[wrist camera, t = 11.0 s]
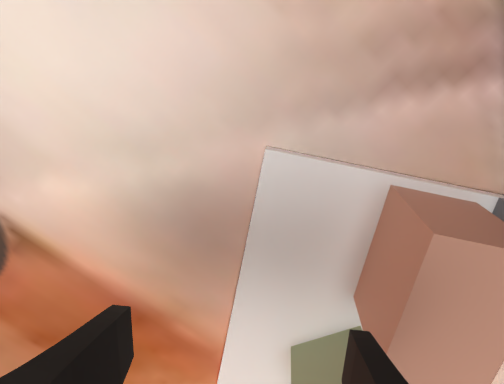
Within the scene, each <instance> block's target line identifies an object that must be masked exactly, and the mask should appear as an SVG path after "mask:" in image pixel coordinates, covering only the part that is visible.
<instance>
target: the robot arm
mask: <svg viewBox="0 0 504 384" xmlns="http://www.w3.org/2000/svg"><path fill="white" fill-rule="evenodd" d="M133 357H134V352H133V338H132V323H131V308H130V307H129V306H119V305H112V306H110V307H109V308H107V309H106V310H104V311H103V312H101V313H100V314H99V315H97V316H96V317H94V318H93V319H91V320H90V321H89V322H87V323H86V324H84V325H83V326H82V327H80V328H79V329H77V330H76V331H74V332H73V333H71V334H70V335H69V336H67V337H66V338H64V339H63V340H61V341H60V342H58V343H57V344H55V345H54V346H52V347H51V348H49V349H47V350H46V351H44V352H43V353H41V354H40V355H38V356H36V357H35V358H33V359H32V360H30V361H28V362H27V363H25V364H24V365H22V366H20V367H18V368H17V369H15V370H13V371H11V372H10V373H8V374H6V375H4V376H2V377H1V378H0V384H123V382H124V380H125V377H126V375H127V372H128V370H129V367H130V365H131V362H132V359H133ZM341 380H342V384H409V383H408V382H407V381H406V379H405V378H404V377H403V376H402V374H401V373H400V372H399V371H398V369H397V368H396V367H395V365H394V364H393V363H392V361H391V360H390V359H389V357H388V356H387V355H386V353H385V352H384V351H383V349H382V348H381V346H380V345H379V344H378V342H377V341H376V339H375V338H374V337H373V335H372V334H371V333H370V332H369V331H362V330H352V329H350V331H349V337H348V343H347V349H346V355H345V361H344V367H343V373H342V379H341Z"/></svg>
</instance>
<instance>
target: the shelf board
mask: <svg viewBox="0 0 504 384" xmlns="http://www.w3.org/2000/svg"><path fill="white" fill-rule="evenodd" d="M390 185H395V186H400V187H404V188H409V189H414V190H419V191H424V192H428V193H433V194H438V195H443V196H448V197H452V198H457V199H462V200H467V201H472V202H476V203H478V204H480V205H481V206H482V207H484V208H485V209H487V210H488V211H489V212H491V213H492V214H494V215H495V216H496V217H498V218H499V219H501V220H502V221H504V195H501V194H496V193H491V192H486V191H481V190H477V189H472V188H467V187H462V186H457V185H452V184H448V183H443V182H438V181H433V180H428V179H424V178H419V177H414V176H409V175H404V174H399V173H395V172H390V171H385V170H380V169H375V168H370V167H366V166H361V165H356V164H351V163H346V162H342V161H337V160H332V159H327V158H322V157H317V156H313V155H308V154H303V153H298V152H293V151H288V150H284V149H279V148H274V147H269V146H266V148H265V153H264V158H263V163H262V168H261V173H260V178H259V182H258V187H257V192H256V197H255V202H254V207H253V212H252V216H251V221H250V226H249V231H248V236H247V241H246V246H245V251H244V255H243V260H242V265H241V270H240V275H239V280H238V285H237V289H236V294H235V299H234V304H233V309H232V314H231V319H230V324H229V328H228V333H227V338H226V343H225V348H224V353H223V358H222V362H221V367H220V372H219V377H218V382H217V384H291V346H294V345H298V344H301V343H304V342H308V341H311V340H314V339H318V338H321V337H324V336H327V335H331V334H334V333H337V332H341V331H344V330H347V329H351V328H354V327H357V326H361V328H362V325H361V322H360V318H359V315H358V311H357V308H356V304H355V301H354V297H353V296H354V293H355V290H356V287H357V284H358V281H359V278H360V275H361V272H362V269H363V266H364V263H365V260H366V257H367V254H368V251H369V248H370V245H371V242H372V239H373V236H374V233H375V230H376V227H377V224H378V221H379V218H380V215H381V212H382V209H383V206H384V203H385V200H386V197H387V194H388V191H389V188H390ZM362 330H363V329H362Z"/></svg>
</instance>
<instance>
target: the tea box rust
mask: <svg viewBox="0 0 504 384" xmlns="http://www.w3.org/2000/svg"><path fill="white" fill-rule="evenodd" d="M353 297H354V301H355V304H356V308H357V311H358V315H359V318H360V322H361V325H362V329H363V331H369V332H370V333H371V334H372V335H373V337H374V338H375V339H376V341H377V342H378V344H379V345H380V346H381V348H382V349H383V351H384V352H385V353H386V355H387V356H388V357H389V359H390V360H391V361H392V363H393V364H394V365H395V367H396V368H397V369H398V371H399V372H400V373H401V374H402V376H403V377H404V378H405V379H406V381H407V382H408V383H409V384H491V383H492V382H493V380H494V378H495V376H496V374H497V372H498V370H499V368H500V367H501V365H502V363H503V361H504V221H502V220H501V219H499V218H498V217H496V216H495V215H494V214H492V213H491V212H489V211H488V210H487V209H485V208H484V207H482V206H481V205H480V204H478V203H476V202H472V201H467V200H462V199H457V198H452V197H448V196H443V195H438V194H433V193H428V192H424V191H419V190H414V189H409V188H404V187H400V186H395V185H390V188H389V191H388V194H387V197H386V200H385V203H384V206H383V209H382V212H381V215H380V218H379V221H378V224H377V227H376V230H375V233H374V236H373V239H372V242H371V245H370V248H369V251H368V254H367V257H366V260H365V263H364V266H363V269H362V272H361V275H360V278H359V281H358V284H357V287H356V290H355V293H354V296H353Z"/></svg>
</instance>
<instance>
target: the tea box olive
mask: <svg viewBox="0 0 504 384" xmlns="http://www.w3.org/2000/svg"><path fill="white" fill-rule="evenodd" d="M351 329H352V330H362V328H361V326H357V327H354V328H351ZM349 331H350V329H347V330H344V331H341V332H337V333H334V334H331V335H327V336H324V337H321V338H318V339H314V340H311V341H308V342H304V343H301V344H298V345H294V346H291V384H342V380H341V379H342V373H343V367H344V361H345V355H346V349H347V343H348V337H349ZM362 331H363V330H362Z"/></svg>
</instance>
